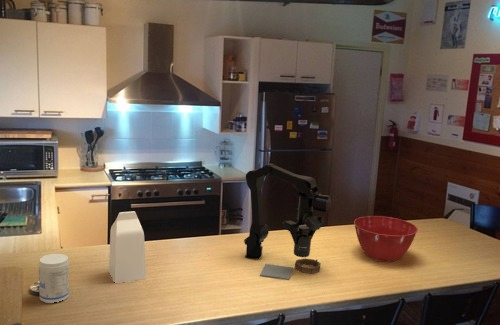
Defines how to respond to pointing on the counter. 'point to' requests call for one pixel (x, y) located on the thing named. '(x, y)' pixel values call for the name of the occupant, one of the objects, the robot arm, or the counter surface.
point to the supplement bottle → (303, 242)
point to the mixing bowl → (384, 237)
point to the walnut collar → (307, 269)
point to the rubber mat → (276, 271)
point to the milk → (127, 249)
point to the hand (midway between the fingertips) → (302, 243)
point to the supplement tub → (53, 278)
